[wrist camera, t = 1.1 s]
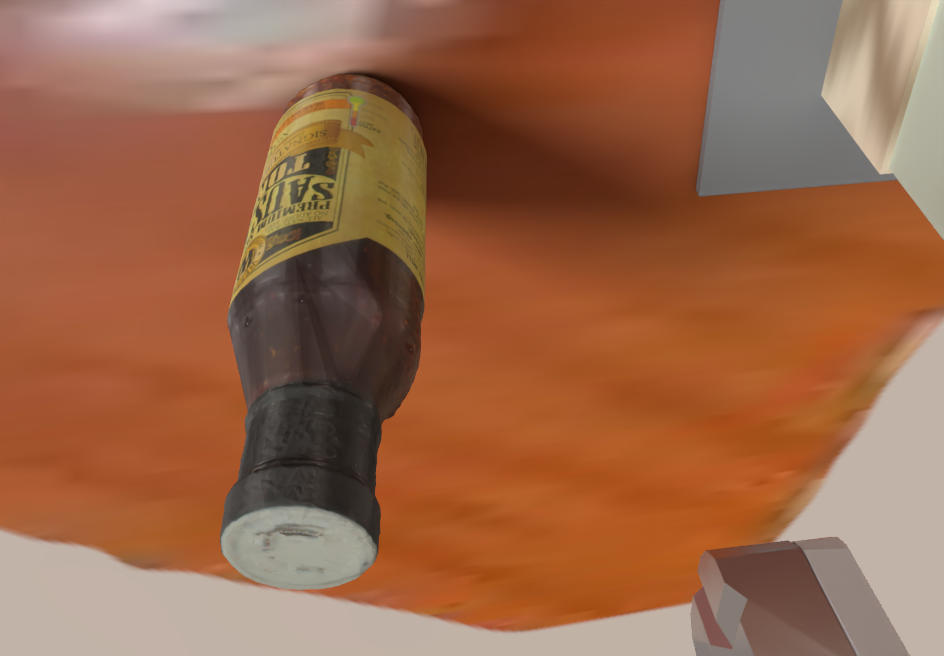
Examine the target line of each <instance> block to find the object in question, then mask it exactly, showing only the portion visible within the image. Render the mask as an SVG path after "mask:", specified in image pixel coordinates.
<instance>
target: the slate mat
mask: <svg viewBox="0 0 944 656" xmlns="http://www.w3.org/2000/svg"><path fill="white" fill-rule="evenodd" d="M842 1H843V0H720V6H719V14H718V22H717V29H716V37H715V45H714V52H713V60H712V68H711V75H710V83H709V91H708V98H707V106H706V114H705V121H704V129H703V137H702V144H701V152H700V160H699V167H698V175H697V183H696V191H697V193H698V195H699V196H711V195H723V194H735V193H747V192H759V191H770V190H782V189H794V188H806V187H818V186H830V185H842V184H854V183H866V182H878V181H889V180H898V179H897V178H896V177H895V176H894V174H893V173H891V174H879V173H878V171H877V170H876V169H875V167H874V166H873V165H872V163H871V162H870V161H869V159H868V158H867V156H866V155H865V154H864V152H863V151H862V150H861V148H860V147H859V146H858V144H857V143H856V142H855V140H854V139H853V138H852V136H851V135H850V134H849V132H848V131H847V130H846V128H845V127H844V125H843V124H842V123H841V121H840V120H839V119H838V117H837V116H836V115H835V113H834V112H833V111H832V109H831V108H830V107H829V105H828V104H827V103H826V101H825V100H824V99H823V97H822V96H821V93H822V89H823V84H824V80H825V75H826V71H827V67H828V62H829V58H830V53H831V49H832V45H833V40H834V36H835V31H836V27H837V23H838V18H839V14H840V9H841V5H842Z"/></svg>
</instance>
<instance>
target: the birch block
mask: <svg viewBox="0 0 944 656" xmlns="http://www.w3.org/2000/svg"><path fill="white" fill-rule="evenodd" d="M938 4H939V0H843V1H842V5H841V9H840V14H839V18H838V23H837V27H836V31H835V36H834V40H833V45H832V49H831V53H830V58H829V62H828V67H827V71H826V75H825V80H824V84H823V89H822V93H821V96H822V97H823V99H824V100H825V101H826V103H827V104H828V105H829V107H830V108H831V109H832V111H833V112H834V113H835V115H836V116H837V117H838V119H839V120H840V121H841V123H842V124H843V125H844V127H845V128H846V130H847V131H848V132H849V134H850V135H851V136H852V138H853V139H854V140H855V142H856V143H857V144H858V146H859V147H860V148H861V150H862V151H863V152H864V154H865V155H866V156H867V158H868V159H869V161H870V162H871V163H872V165H873V166H874V167H875V169H876V170H877V171H878V173H879V174H891V173H892V172H891V170H890V169H889V165H890V162H891V158H892V155H893V152H894V149H895V145H896V142H897V139H898V135H899V132H900V129H901V126H902V122H903V119H904V116H905V112H906V109H907V106H908V102H909V99H910V96H911V93H912V89H913V86H914V83H915V79H916V76H917V73H918V70H919V66H920V63H921V60H922V56H923V53H924V50H925V47H926V43H927V40H928V37H929V33H930V30H931V27H932V24H933V20H934V17H935V14H936V10H937V7H938Z"/></svg>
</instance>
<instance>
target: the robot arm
mask: <svg viewBox="0 0 944 656" xmlns="http://www.w3.org/2000/svg"><path fill="white" fill-rule="evenodd" d="M698 573H699V576H700V579H701V581H702V584H703V587H702V588H701V589H700V590H699V591H698V592H697V593H696V594H695V595H694V596H693V601H692V608H691V626H692V638H693V642H694V647H695V651H696V655H697V656H910V655H909V653H908V652H907V650H906V648H905V646H904V644H903V643H902V641H901V639H900V638H899V636H898V634H897V633H896V631H895V629H894V627H893V625H892V624H891V622H890V620H889V618H888V617H887V615H886V613H885V611H884V610H883V608H882V606H881V604H880V603H879V601H878V599H877V597H876V596H875V594H874V592H873V590H872V589H871V587H870V585H869V583H868V582H867V580H866V578H865V576H864V575H863V573H862V571H861V570H860V568H859V566H858V564H857V562H856V561H855V559H854V557H853V555H852V554H851V552H850V550H849V548H848V547H847V545H846V544H845V543H844V542H843V541H841V540H840V539H839V538H838V537H827V538H819V539H811V540H802V541H794V542H789V541H781V542H773V543H764V544H756V545H747V546H739V547H730V548H722V549H714V550H706V551H705V552H704V553H703V555H702V556H701V558H700V563H699V568H698Z"/></svg>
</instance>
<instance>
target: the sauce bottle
mask: <svg viewBox="0 0 944 656" xmlns="http://www.w3.org/2000/svg"><path fill="white" fill-rule="evenodd" d="M426 172H427V155H426V150H425V147H424V144H423V130H422V128H421V125H420V120H419V118H418V117H417V116H416V114H415V112H414V111H413V109H412V107H411V106H410V105H409V104H408V103H407V101H406V100H405V98H404V97H402V96H401V94H400V93H399V92H396V91H395V90H394V89H393V88H392V87H390V86H389V85H387V84H385V83H383V82H381V81H379V80H377V79H373V78H370V77H367V76H364V75H353V74H339V75H335V76H331V77H328V78H325V79H321V80H320V81H318V82H315V83H313V84H311V85H309V86H308V87H307V88H305V89H303V90H301V91H300V92H299V93H298V94H297V96H296V97H295V98H294V99H293V100H291V101H290V102H289V104H288V106H287V108H286V110H285V112H284V114H283V116H282V118H281V119H280V121H279V122H278V124H277V126H276V128H275V130H274V133H273V137H272V140H271V144H270V148H269V152H268V156H267V160H266V164H265V168H264V172H263V176H262V180H261V184H260V188H259V192H258V196H257V200H256V203H255V207H254V211H253V215H252V219H251V222H250V227H249V231H248V234H247V238H246V241H245V246H244V251H243V255H242V259H241V263H240V267H239V271H238V274H237V278H236V282H235V286H234V290H233V294H232V298H231V302H230V307H229V311H228V319H227V322H228V328H229V331H230V335H231V339H232V344H233V348H234V352H235V357H236V361H237V365H238V370H239V374H240V378H241V383H242V387H243V391H244V396H245V400H246V405H247V409H248V413H247V416H246V418H245V429H246V439H245V446H244V450H243V454H242V458H241V464H240V470H239V476H238V481H237V482H236V483H235V484H234V486H233V487H232V489H231V490H230V491H229V493H228V495H227V497H226V501H225V504H224V515H223V522H222V528H221V533H220V544H221V550H222V554H223V555H224V556H225V557H226V558H227V560H228V561H229V562H230V563H231V565H232V566H233V567H234V568H236V569H237V570H238V571H239V572H240V573H241V574H243V575H244V576H245V577H248V578H250V579H252V580H254V581H256V582H258V583H263V584H266V585H269V586H274V587H279V588H283V589H297V590H305V589H324V588H329V587H335V586H339V585H341V584H344V583H347V582H349V581H352V580H354V579H357V578H358V577H359V576H360V575H361V574H363V573H364V572H365V571H366V570H367V569H368V568H369V567H370V566H371V565H372V564H373V563H374V562H375V560H376V557H377V554H378V547H379V535H380V518H381V513H380V506H379V503H378V501H377V499H376V497H375V486H376V474H375V473H376V465H377V452H378V448H379V445H380V442H381V433H382V430H381V425H382V423H383V421H384V420H385V419H388V418H391V417H392V416H393V415H394V414H395V412H396V410H397V409H398V408H399V407H400V406H401V403H402V402H403V400H404V399H405V397H406V395H407V393H408V392H409V390H410V387H411V385H412V383H413V381H414V379H415V375H416V371H417V369H418V366H419V359H420V351H421V339H420V338H421V321H422V318H423V313H424V297H425V229H426Z"/></svg>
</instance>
